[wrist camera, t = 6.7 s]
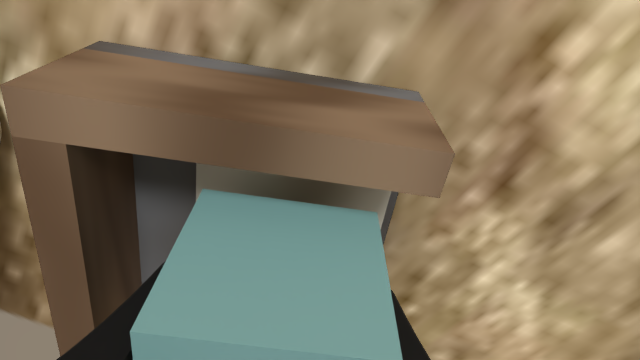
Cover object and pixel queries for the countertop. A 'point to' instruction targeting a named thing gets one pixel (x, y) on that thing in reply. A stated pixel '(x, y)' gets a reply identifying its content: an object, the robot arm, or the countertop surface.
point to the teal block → (270, 285)
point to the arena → (193, 158)
